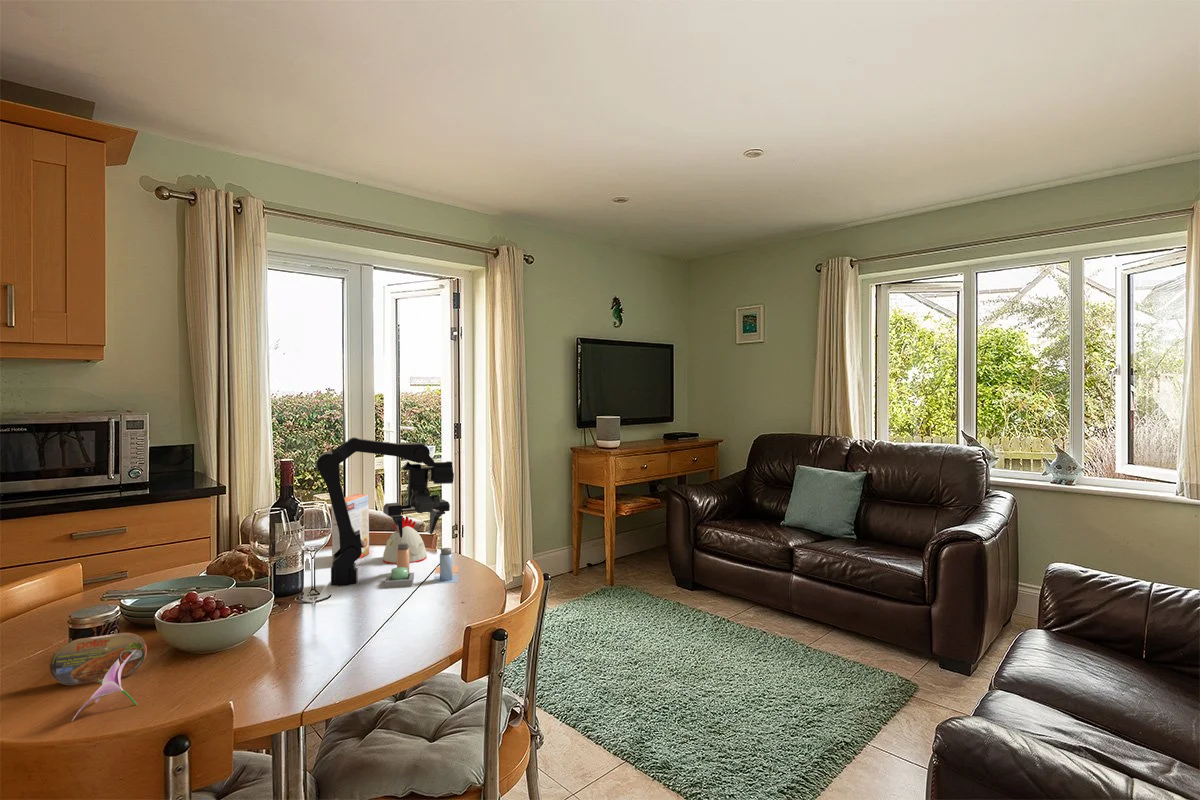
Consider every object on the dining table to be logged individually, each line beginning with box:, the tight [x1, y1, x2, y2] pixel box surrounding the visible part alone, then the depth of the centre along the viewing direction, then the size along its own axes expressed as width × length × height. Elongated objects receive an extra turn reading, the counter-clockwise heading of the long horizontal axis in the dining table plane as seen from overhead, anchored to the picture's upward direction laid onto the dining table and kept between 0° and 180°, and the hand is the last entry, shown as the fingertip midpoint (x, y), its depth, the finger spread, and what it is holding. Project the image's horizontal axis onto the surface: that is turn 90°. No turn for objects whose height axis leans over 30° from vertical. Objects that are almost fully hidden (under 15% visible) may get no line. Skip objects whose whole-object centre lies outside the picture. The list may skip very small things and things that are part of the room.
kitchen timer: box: [382, 516, 428, 565], centre depth 203 cm, size 14×14×15 cm
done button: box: [390, 567, 408, 580], centre depth 177 cm, size 5×5×3 cm
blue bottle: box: [439, 547, 453, 581], centre depth 181 cm, size 4×4×9 cm
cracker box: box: [330, 493, 370, 565], centre depth 205 cm, size 14×6×21 cm, turn 172°
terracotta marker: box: [396, 543, 410, 573], centre depth 187 cm, size 4×4×9 cm
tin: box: [49, 632, 148, 686], centre depth 121 cm, size 15×3×8 cm, turn 114°
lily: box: [71, 650, 138, 722], centre depth 110 cm, size 12×12×10 cm
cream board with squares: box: [384, 565, 459, 589], centre depth 184 cm, size 22×19×3 cm
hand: (416, 535), depth 185 cm, fingers open, 9 cm apart
